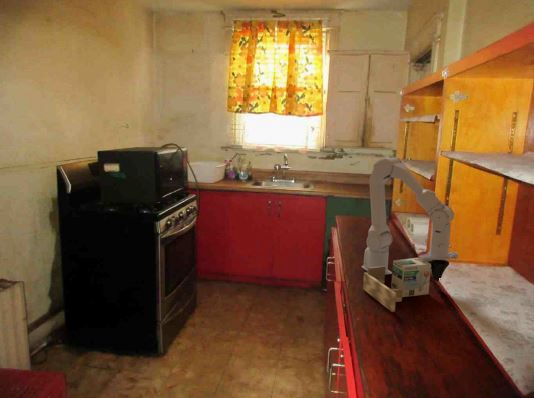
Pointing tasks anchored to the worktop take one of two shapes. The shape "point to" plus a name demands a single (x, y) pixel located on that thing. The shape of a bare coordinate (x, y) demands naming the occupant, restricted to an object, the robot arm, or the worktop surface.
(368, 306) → the worktop surface
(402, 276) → the light bulb box
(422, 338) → the worktop surface
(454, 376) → the worktop surface
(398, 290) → the shelf slot
